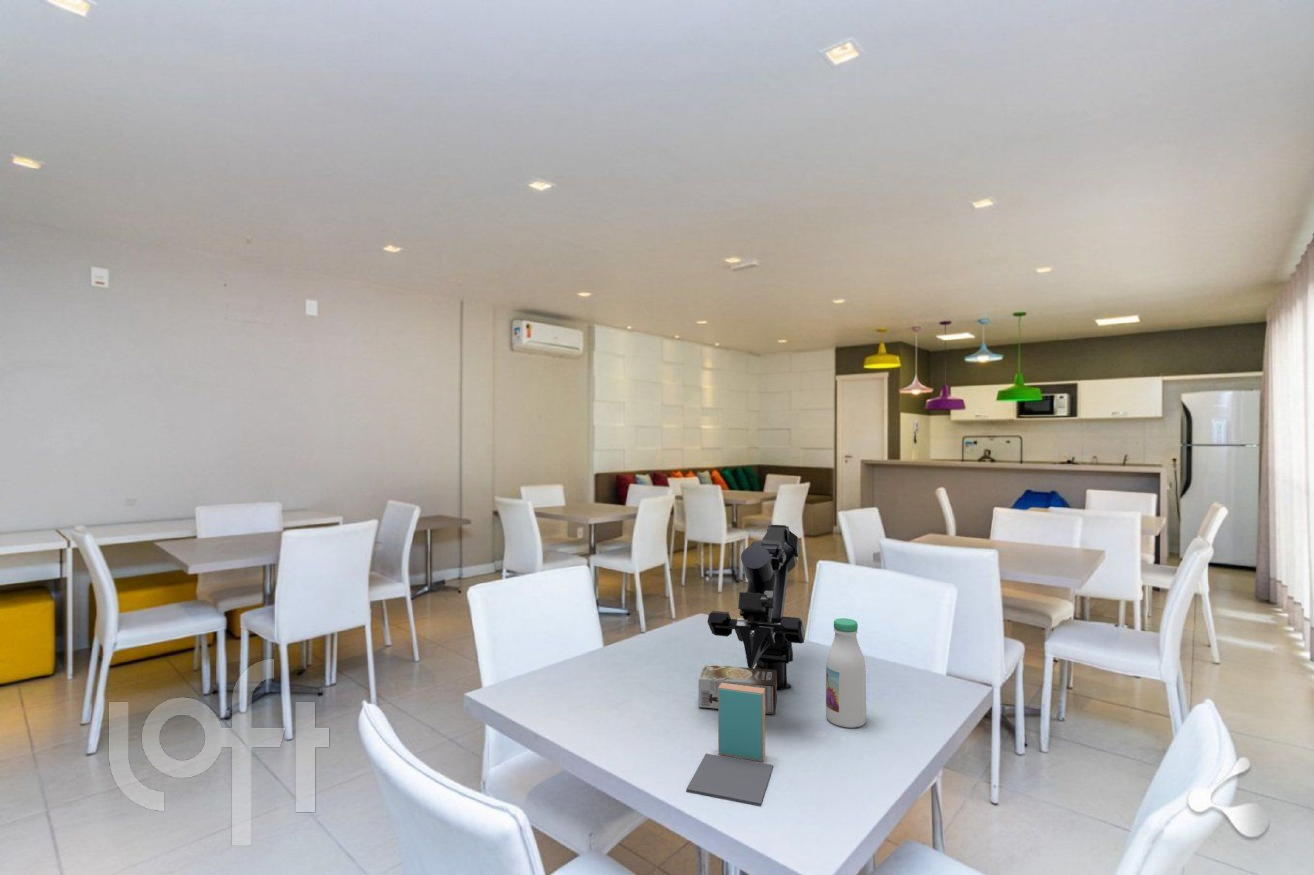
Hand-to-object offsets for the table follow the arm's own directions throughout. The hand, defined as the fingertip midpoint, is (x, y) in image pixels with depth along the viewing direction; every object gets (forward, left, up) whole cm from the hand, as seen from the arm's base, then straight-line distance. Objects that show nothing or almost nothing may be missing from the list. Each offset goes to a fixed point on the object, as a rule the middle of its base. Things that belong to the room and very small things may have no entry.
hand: (750, 667), depth 119 cm
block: (+6, +6, -13) cm, 15 cm away
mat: (+12, +12, -13) cm, 21 cm away
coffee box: (+1, -18, -10) cm, 20 cm away
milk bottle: (-21, +3, -13) cm, 25 cm away
